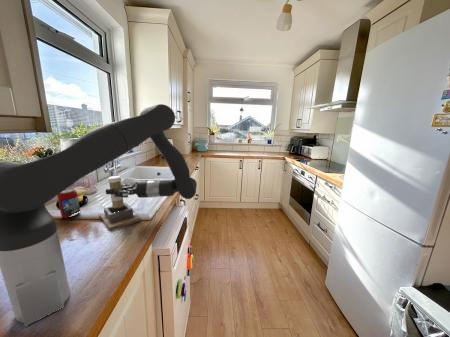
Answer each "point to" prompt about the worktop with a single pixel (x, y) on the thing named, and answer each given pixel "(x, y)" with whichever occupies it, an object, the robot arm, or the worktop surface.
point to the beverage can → (68, 202)
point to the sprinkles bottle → (115, 184)
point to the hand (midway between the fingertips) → (109, 189)
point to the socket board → (119, 217)
